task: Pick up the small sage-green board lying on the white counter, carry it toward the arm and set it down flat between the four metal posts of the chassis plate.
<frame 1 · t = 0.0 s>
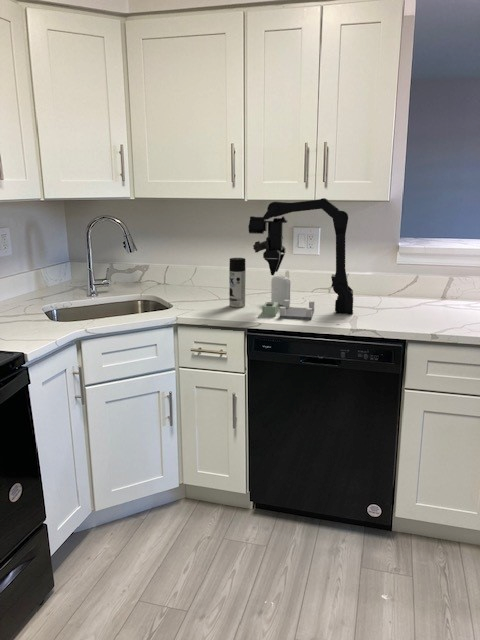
hand: (274, 273, 207), 15 cm above the worktop, tool pointing down, fingers open, 9 cm apart
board: (270, 314, 203), on the worktop
spray can: (237, 306, 216), on the worktop
photo printer: (280, 304, 220), on the worktop
chassis: (297, 314, 202), on the worktop
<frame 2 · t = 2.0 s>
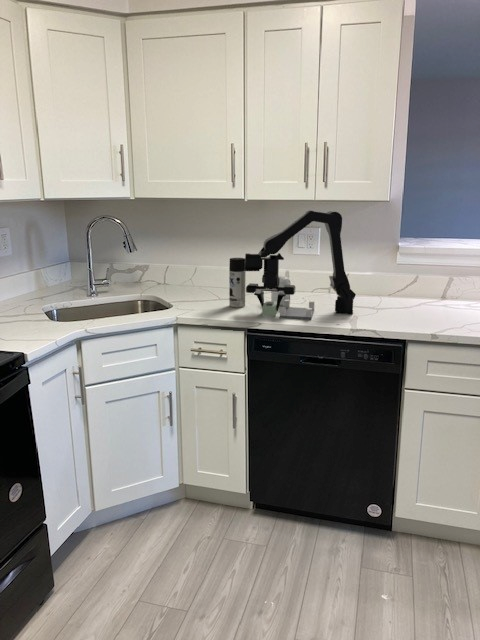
hand: (270, 310, 203), 1 cm above the worktop, tool pointing down, fingers closed on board, 5 cm apart
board: (270, 313, 203), on the worktop, touching gripper
everything else where it was.
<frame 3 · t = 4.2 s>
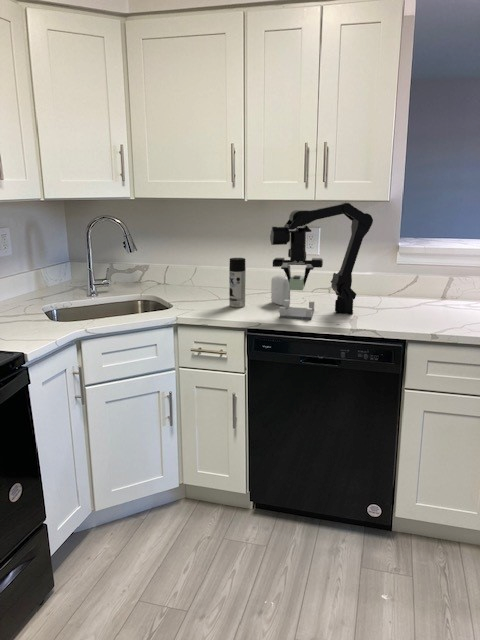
hand: (297, 284, 199), 12 cm above the worktop, tool pointing down, fingers closed on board, 5 cm apart
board: (297, 287, 200), point 10 cm above the worktop, touching gripper
everything else where it was.
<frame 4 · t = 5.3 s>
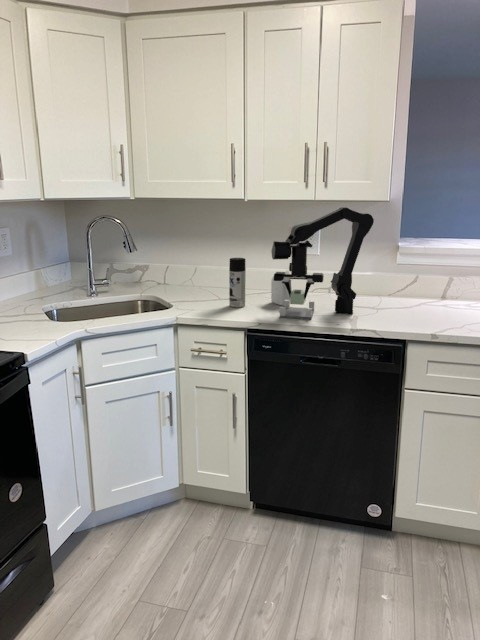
hand: (298, 298, 201), 6 cm above the worktop, tool pointing down, fingers closed on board, 5 cm apart
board: (297, 301, 201), point 5 cm above the worktop, touching gripper
everything else where it was.
when the fingers open (4 cm above the worktop, at t = 6.2 s): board drops 1 cm, resting on chassis.
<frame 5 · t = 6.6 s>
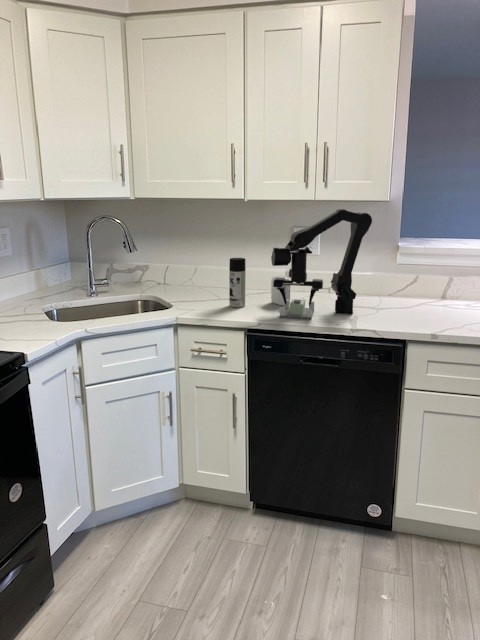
hand: (297, 305, 201), 4 cm above the worktop, tool pointing down, fingers open, 9 cm apart
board: (297, 311, 202), point 1 cm above the worktop, touching chassis
everything else where it was.
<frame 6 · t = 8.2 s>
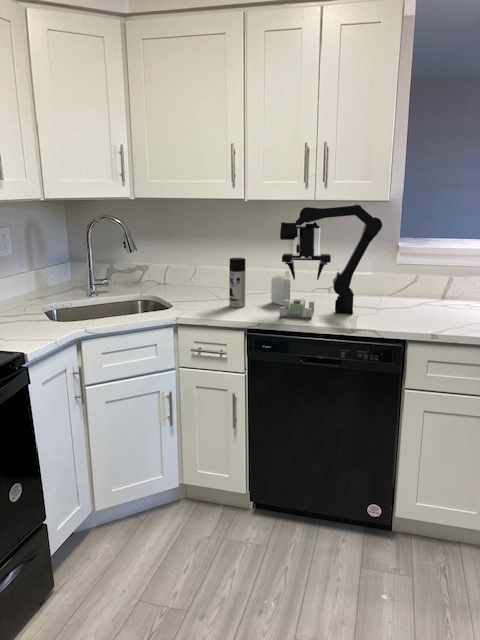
hand: (306, 279, 204), 13 cm above the worktop, tool pointing down, fingers open, 9 cm apart
nothing on the worktop moved.
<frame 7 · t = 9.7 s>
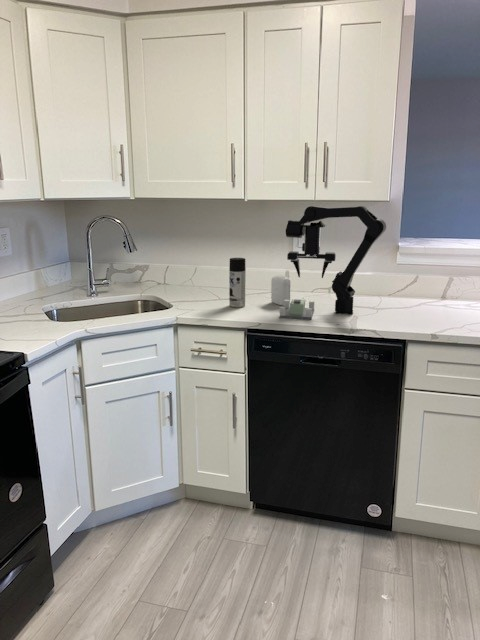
hand: (310, 277, 208), 13 cm above the worktop, tool pointing down, fingers open, 9 cm apart
nothing on the worktop moved.
at the end: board 0.1 cm off-centre on the chassis, point 1.0 cm above the chassis's base; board tilted 0°; the gripper is holding nothing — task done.
